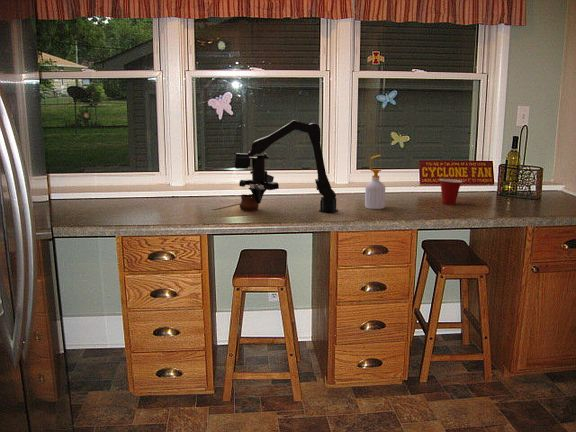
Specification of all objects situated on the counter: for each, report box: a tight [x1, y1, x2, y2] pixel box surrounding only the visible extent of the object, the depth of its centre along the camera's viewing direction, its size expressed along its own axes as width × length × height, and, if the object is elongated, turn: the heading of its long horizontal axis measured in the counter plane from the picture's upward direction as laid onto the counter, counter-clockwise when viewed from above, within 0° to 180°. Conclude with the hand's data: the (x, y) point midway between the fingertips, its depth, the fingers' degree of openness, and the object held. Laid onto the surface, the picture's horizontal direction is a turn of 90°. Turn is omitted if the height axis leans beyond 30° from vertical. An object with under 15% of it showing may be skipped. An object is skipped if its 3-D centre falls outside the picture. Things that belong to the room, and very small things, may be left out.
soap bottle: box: [364, 154, 386, 210], centre depth 252 cm, size 9×9×25 cm
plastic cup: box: [439, 178, 463, 206], centre depth 264 cm, size 11×11×12 cm
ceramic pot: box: [239, 193, 260, 212], centre depth 249 cm, size 18×18×7 cm
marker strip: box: [211, 202, 241, 211], centre depth 256 cm, size 1×22×1 cm, turn 143°
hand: (258, 203), depth 245 cm, fingers closed
